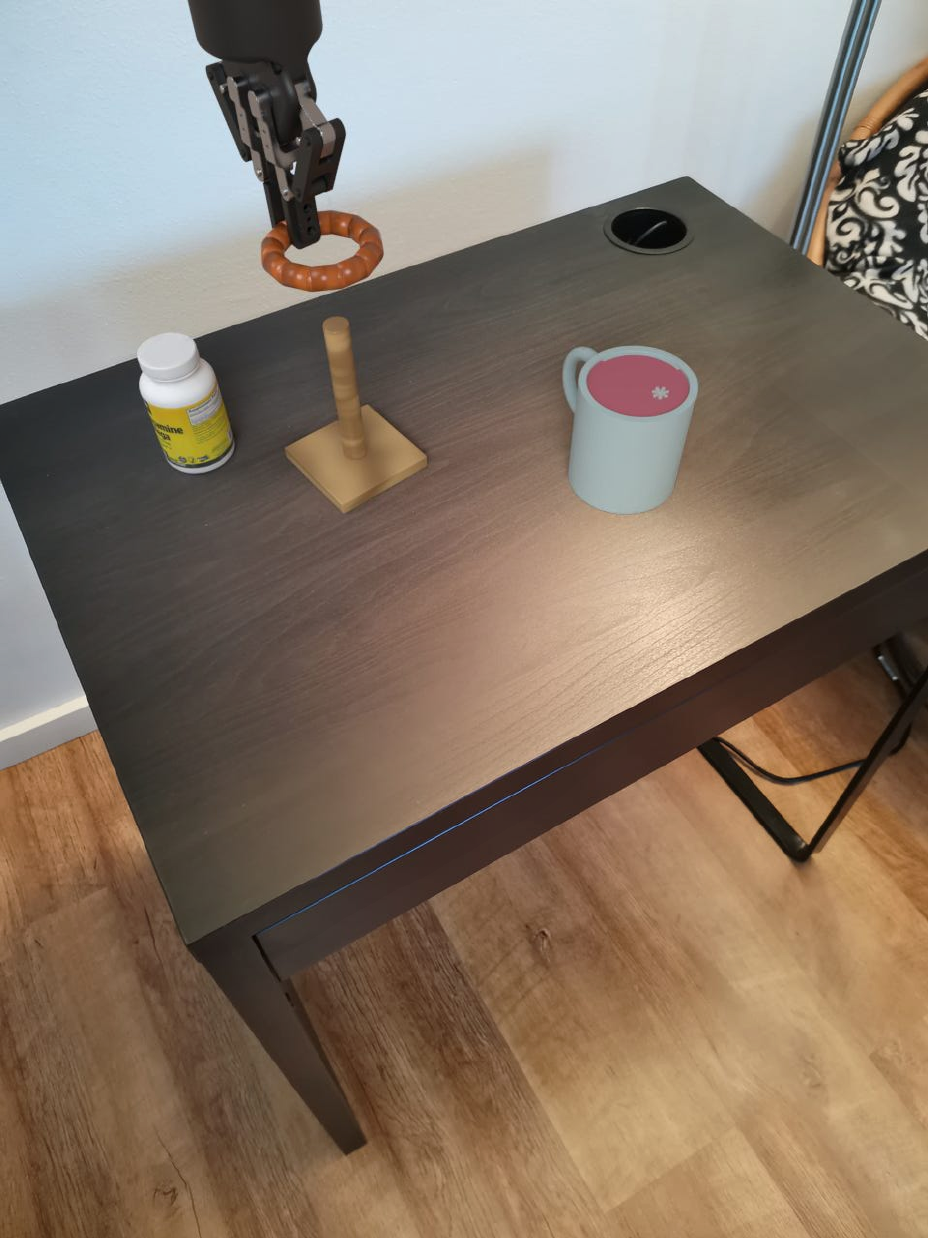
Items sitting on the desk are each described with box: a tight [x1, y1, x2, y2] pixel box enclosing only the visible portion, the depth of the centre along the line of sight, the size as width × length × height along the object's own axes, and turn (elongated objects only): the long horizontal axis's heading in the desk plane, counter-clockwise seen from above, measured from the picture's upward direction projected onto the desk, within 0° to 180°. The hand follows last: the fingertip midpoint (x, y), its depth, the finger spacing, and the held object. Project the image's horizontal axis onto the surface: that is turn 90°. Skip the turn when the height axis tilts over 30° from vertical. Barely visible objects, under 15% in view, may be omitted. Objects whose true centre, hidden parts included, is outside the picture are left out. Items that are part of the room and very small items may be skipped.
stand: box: [284, 316, 429, 515], centre depth 72 cm, size 9×9×14 cm
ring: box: [260, 209, 385, 293], centre depth 61 cm, size 8×8×2 cm
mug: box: [561, 345, 699, 515], centre depth 74 cm, size 14×9×10 cm
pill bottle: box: [136, 331, 235, 475], centre depth 75 cm, size 6×6×11 cm
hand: (297, 235), depth 63 cm, fingers closed on ring, 2 cm apart
